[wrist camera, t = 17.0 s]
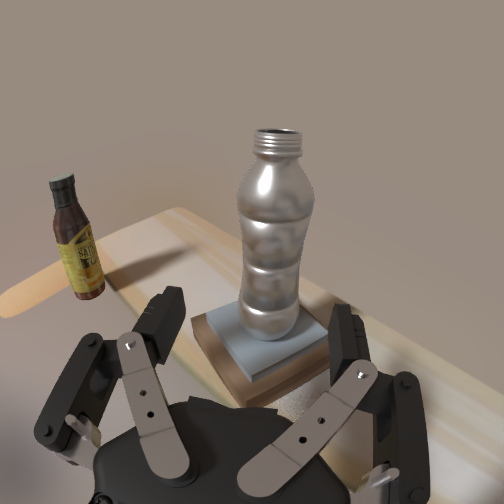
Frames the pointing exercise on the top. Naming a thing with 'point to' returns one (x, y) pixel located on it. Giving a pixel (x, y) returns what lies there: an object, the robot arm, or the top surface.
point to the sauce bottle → (75, 240)
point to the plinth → (265, 384)
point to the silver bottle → (272, 233)
